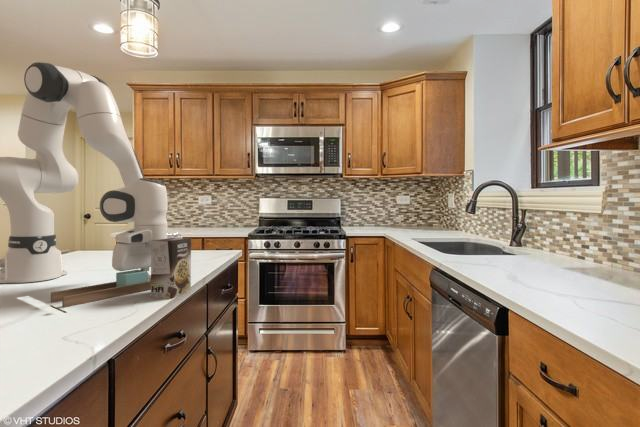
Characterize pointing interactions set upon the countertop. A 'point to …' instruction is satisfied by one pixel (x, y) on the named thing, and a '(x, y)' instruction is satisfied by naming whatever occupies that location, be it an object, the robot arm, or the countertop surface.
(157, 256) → the coffee box
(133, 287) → the chute
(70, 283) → the countertop surface
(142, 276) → the block
